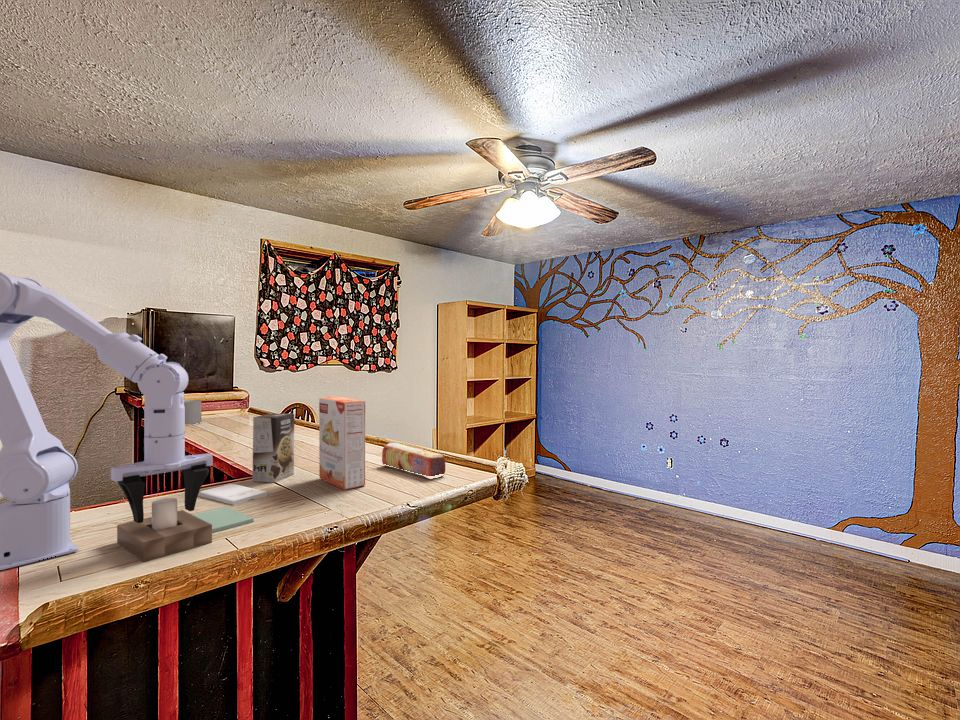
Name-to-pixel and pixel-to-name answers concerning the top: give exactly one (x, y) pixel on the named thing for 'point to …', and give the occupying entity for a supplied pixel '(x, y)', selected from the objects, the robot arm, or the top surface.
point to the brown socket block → (163, 536)
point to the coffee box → (273, 447)
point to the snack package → (413, 459)
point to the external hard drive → (232, 494)
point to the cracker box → (342, 441)
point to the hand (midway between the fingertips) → (165, 515)
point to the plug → (164, 513)
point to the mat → (224, 518)
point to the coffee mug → (192, 411)
